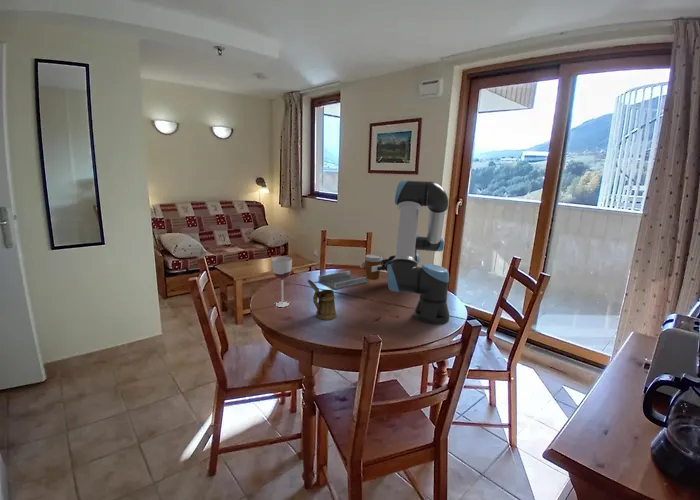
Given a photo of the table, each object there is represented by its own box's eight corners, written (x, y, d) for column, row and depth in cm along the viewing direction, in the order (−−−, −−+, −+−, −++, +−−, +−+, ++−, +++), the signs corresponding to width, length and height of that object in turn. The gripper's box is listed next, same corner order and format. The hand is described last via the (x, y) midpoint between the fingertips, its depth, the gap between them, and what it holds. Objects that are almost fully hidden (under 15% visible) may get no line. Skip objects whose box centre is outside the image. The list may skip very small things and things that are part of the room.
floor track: (348, 275, 218) (349, 270, 217) (366, 282, 205) (367, 277, 205) (318, 281, 204) (318, 276, 203) (335, 289, 192) (335, 284, 191)
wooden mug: (303, 316, 157) (303, 276, 153) (329, 310, 164) (330, 272, 160) (312, 324, 150) (313, 282, 146) (340, 317, 157) (341, 277, 153)
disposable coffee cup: (382, 281, 186) (383, 258, 183) (363, 280, 186) (364, 257, 184) (381, 276, 195) (382, 254, 193) (363, 275, 195) (364, 253, 193)
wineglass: (269, 307, 166) (268, 260, 161) (278, 300, 175) (277, 255, 170) (287, 309, 164) (286, 262, 159) (295, 302, 173) (295, 257, 168)
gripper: (410, 272, 193) (379, 279, 179) (383, 264, 209) (353, 269, 195) (411, 259, 192) (380, 264, 178) (384, 251, 208) (353, 256, 194)
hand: (366, 267), depth 186 cm, fingers closed on disposable coffee cup, 8 cm apart
